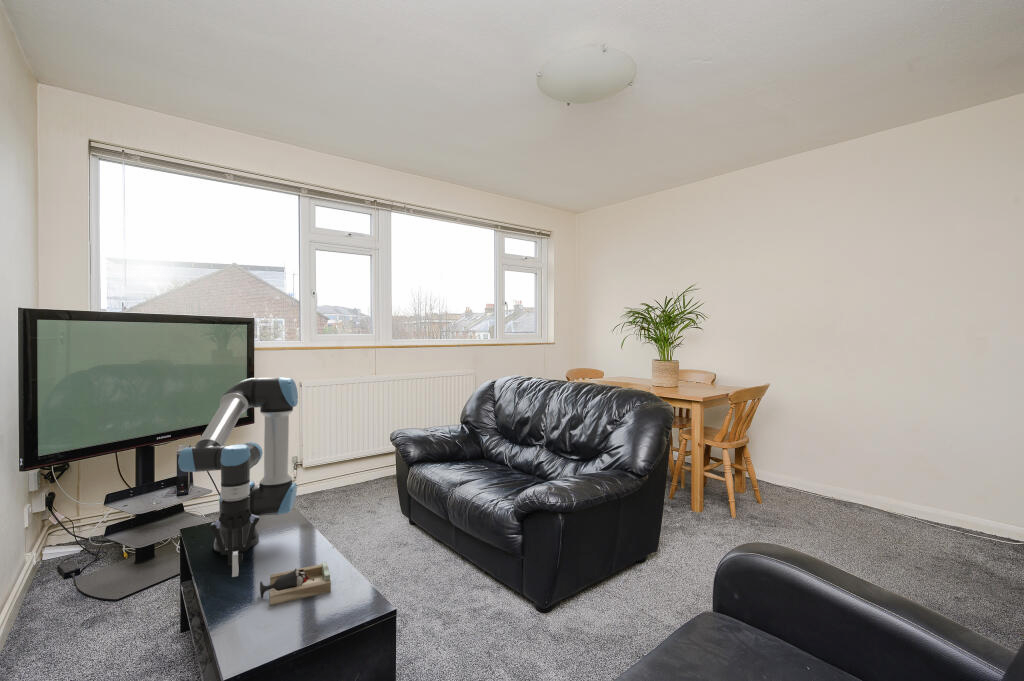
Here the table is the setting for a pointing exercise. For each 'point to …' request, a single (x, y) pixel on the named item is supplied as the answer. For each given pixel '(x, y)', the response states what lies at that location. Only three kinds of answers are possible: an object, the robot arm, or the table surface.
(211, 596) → the table surface
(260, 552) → the table surface
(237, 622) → the table surface
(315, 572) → the rest
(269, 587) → the sundae
